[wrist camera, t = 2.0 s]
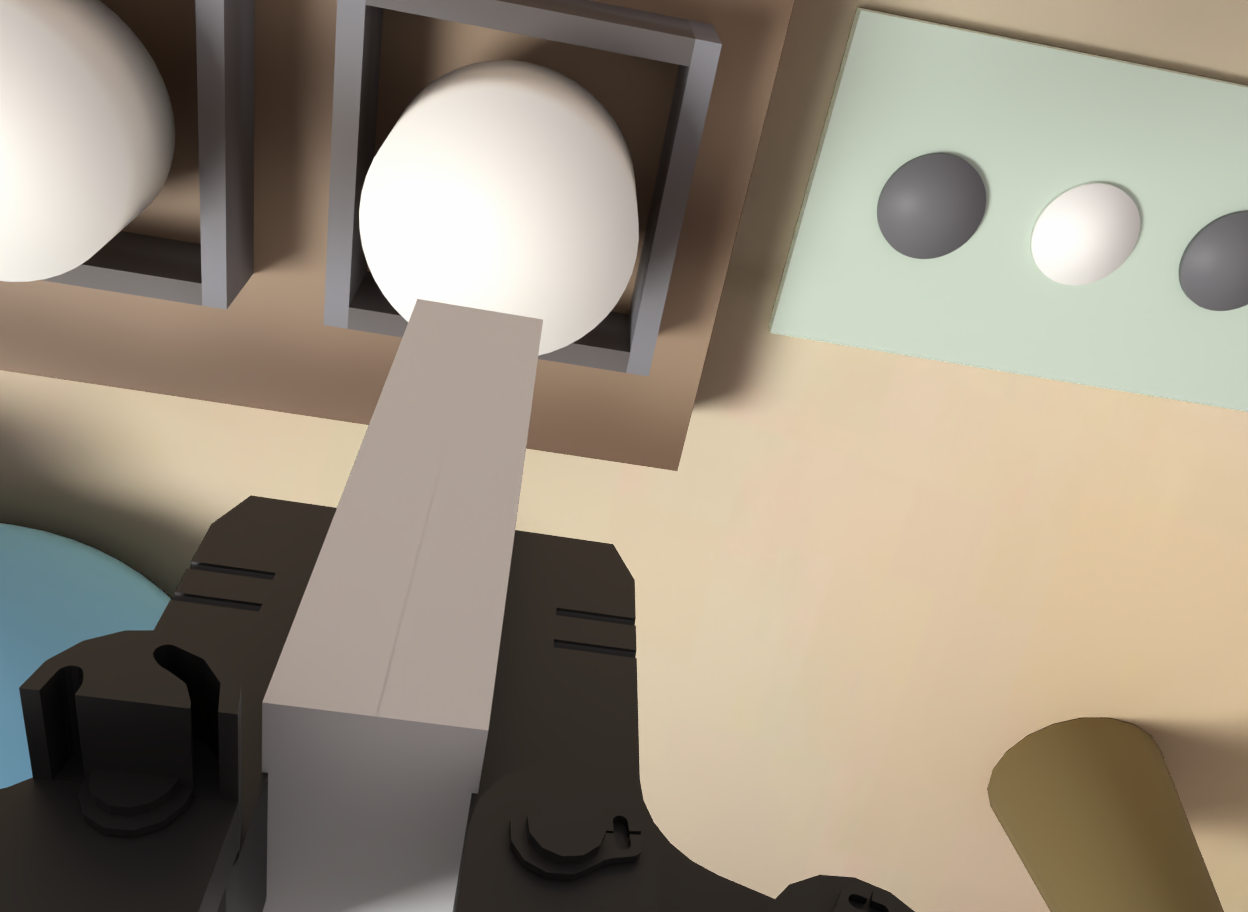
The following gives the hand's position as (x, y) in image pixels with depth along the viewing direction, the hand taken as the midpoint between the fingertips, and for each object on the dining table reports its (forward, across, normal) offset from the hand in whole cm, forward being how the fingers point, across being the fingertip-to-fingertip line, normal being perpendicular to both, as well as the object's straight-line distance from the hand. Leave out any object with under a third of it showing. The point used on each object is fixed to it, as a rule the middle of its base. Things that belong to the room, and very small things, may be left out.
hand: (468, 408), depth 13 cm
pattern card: (+14, -14, 0) cm, 20 cm away
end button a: (+9, 0, 0) cm, 9 cm away
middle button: (+9, +9, 0) cm, 13 cm away
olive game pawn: (+14, -22, +19) cm, 33 cm away
